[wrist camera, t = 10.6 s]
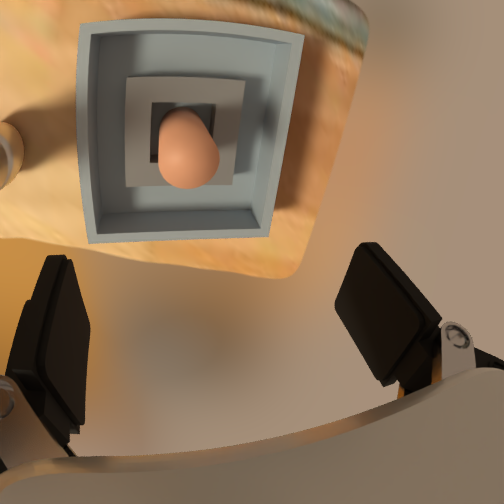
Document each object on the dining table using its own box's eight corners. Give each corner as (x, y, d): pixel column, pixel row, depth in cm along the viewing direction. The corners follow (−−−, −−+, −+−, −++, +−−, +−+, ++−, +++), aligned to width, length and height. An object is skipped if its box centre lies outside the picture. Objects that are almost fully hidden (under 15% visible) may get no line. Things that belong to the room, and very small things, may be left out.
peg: (160, 106, 25) (159, 131, 18) (203, 107, 26) (222, 132, 19) (158, 147, 28) (157, 189, 20) (199, 147, 29) (216, 188, 21)
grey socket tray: (93, 28, 20) (80, 23, 16) (283, 36, 25) (304, 35, 21) (96, 218, 31) (88, 243, 27) (255, 213, 36) (268, 236, 32)
